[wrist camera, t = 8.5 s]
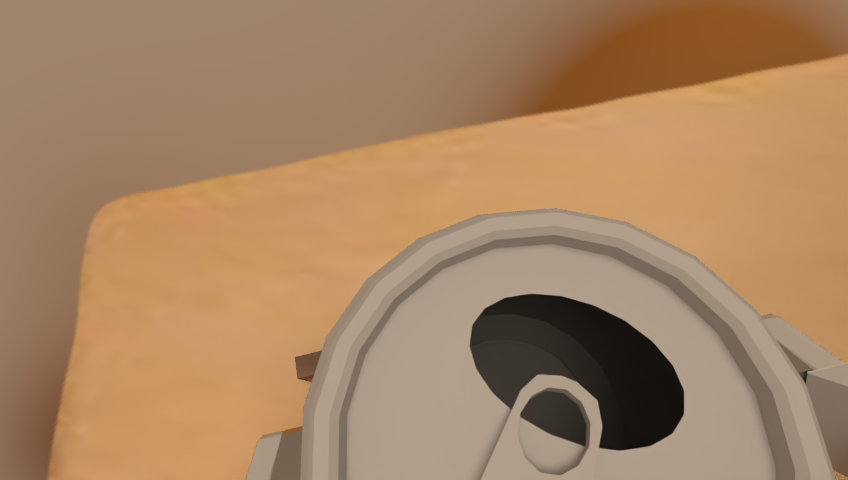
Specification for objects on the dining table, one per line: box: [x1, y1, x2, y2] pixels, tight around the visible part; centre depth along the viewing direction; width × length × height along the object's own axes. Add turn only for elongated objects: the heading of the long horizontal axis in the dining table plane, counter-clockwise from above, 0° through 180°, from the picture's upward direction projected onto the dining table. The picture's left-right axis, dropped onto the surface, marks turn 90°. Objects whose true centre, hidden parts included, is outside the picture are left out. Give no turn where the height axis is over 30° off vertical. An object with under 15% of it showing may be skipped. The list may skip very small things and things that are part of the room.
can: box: [300, 208, 835, 480], centre depth 11 cm, size 8×8×12 cm
